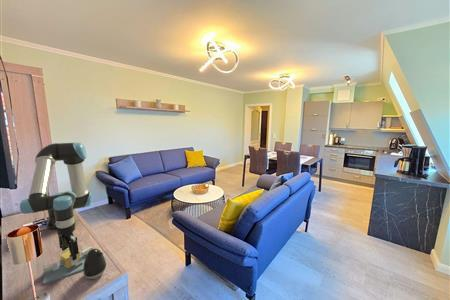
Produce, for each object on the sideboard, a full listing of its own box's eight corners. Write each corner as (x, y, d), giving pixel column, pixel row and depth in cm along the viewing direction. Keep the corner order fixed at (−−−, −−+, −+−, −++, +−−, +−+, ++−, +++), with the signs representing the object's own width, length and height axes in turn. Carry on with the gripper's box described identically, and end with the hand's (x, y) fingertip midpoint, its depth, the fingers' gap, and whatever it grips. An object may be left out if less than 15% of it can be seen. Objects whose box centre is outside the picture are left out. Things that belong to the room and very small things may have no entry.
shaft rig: (46, 267, 107) (45, 259, 106) (94, 251, 119) (93, 244, 118) (42, 285, 96) (41, 276, 95) (95, 266, 109) (94, 258, 108)
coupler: (58, 266, 104) (57, 256, 103) (75, 255, 112) (74, 246, 111) (65, 270, 102) (63, 260, 101) (82, 259, 110) (81, 250, 108)
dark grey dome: (96, 284, 98) (93, 258, 95) (79, 280, 100) (75, 255, 96) (111, 268, 108) (109, 245, 105) (95, 265, 109) (92, 242, 106)
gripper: (47, 223, 103) (53, 260, 107) (68, 234, 95) (73, 273, 100) (63, 216, 109) (68, 252, 114) (84, 226, 102) (88, 263, 107)
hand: (70, 261), depth 107 cm, fingers closed on coupler, 6 cm apart
